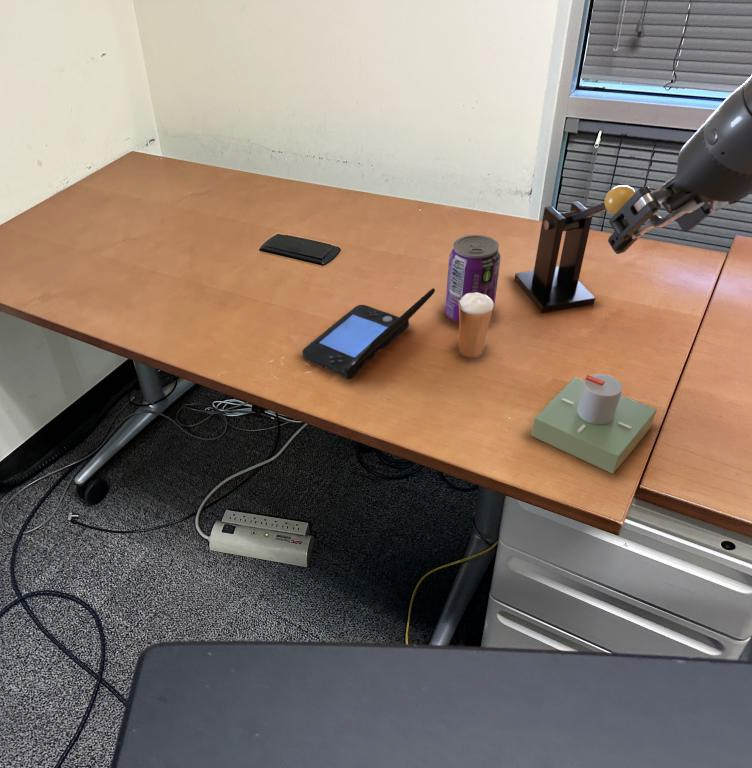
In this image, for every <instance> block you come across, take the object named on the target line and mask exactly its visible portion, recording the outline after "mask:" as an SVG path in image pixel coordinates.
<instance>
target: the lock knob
mask: <svg viewBox="0 0 752 768" xmlns="http://www.w3.org/2000/svg"><path fill="white" fill-rule="evenodd" d="M623 389H624V387H623V384H622V382H621V381H620V380H618V379H617V378H615V377H614V376H612V375H608V374H605V373H604V374H603V373H595V374H587V375H586V377H585V379H584V385H583V389H582V393H581V397H580V401H579V405H578V409H577V413H578V415H579V416H580V417H581V418H582V419H583V420H584V421H586V422H589V423H592V424H597V425H602V424H607V423H609V422H611V421H612V420H613V419H614V416H615V412H616V409H617V406H618V403H619V399H620V396H621V395H622V392H623Z"/></svg>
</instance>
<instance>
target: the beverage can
mask: <svg viewBox="0 0 752 768" xmlns="http://www.w3.org/2000/svg"><path fill="white" fill-rule="evenodd" d="M499 246H500V245H499V242H498V241H497V240H495V239H494V238H493V237H490V236H487V235H482V234H467V235H464V236H461V237H459V238H457V239H456V240H454V242H453V246H452V249H451V251H450V253H449V254H448V255H449V256H448V266H447V279H446V291H445V304H444V306H445V307H444V312H445V315H446V316H447V317H448V318H449V319H451V320H452V321H454V322H456V323H459V303H458V301H457V298H458V300H459V301H460V299H461V298H462V297H463V296H464V295H466V294H468V293H476V292H477V293H481V294H484V295H487V296H488V297H489V298H490V299H492V301H493V303H494V307H493V311H492V315H491V318H492V317H493V315H494V312H495V305H496V296H497V290H498V289H497V288H498V281H499V274H500V265H501V258H502V257H501V256H502V255H501V254H500V253H501V252H499Z"/></svg>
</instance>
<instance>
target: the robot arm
mask: <svg viewBox="0 0 752 768" xmlns="http://www.w3.org/2000/svg"><path fill="white" fill-rule="evenodd" d="M676 165H677V166H676V173H675V174H673V175H671V176H670V177H668V178H667V179H666V180H665V181H664V183H663V184H662V185H661V186H659V187H658V188H657V189H655V190H653V191H652V190H651V189H650V188H649V186H648V185H645V186H642V187H640V188H639V189H638V190H637V191H635V192H636V193H635V194H634V195H633V196H632V197H631V198H630V199H629V200H628V201H627V202H626V203H625V204H624V205H623V206H622V208H621V209H620V210H619V211H618V212H617V213H616V214H615V215H614V214H613V215H612V217H611V218H610V219H609V220H608V223H609V224H610V226H611V228H612V229H613V231H614V232H613V233H612V234H611V235H609V237H608V239H607V242H608V243H609V245H610V247H611V249H612V250H613V252H614V253H615V254H616V255H619V254H624V253H626V251H628V249H629V248H631V246H632V245H634V243H635V242H637V241H638V240H639V238H641V237H642V236H643V235H644V234H646V233H647V232H649V231H651V230H652V229H654V228H659V229H661V228H664V227H666V226H667V225H669V224H671V223H673V222H674V221H675V222H676V223H677V225H678V226H679V227H680V229H681V230H682V232H684V233H685V232H689V231H692V230H694V229H695V228H696V227H697V226H698V225H699V224H700V223H701V222H702V221H704V219H706V218H707V217H708V216H709V215H710V214H713V213H717V212H719V211H720V210H721V209H722V208H723V207H724V205H726V204H728V205H730V206H731V205H733V204H735V205H736V204H737V203H739V202H740V200H742V199H744V198H747V197H748V196H750V195H751V194H752V75H750V77H749V78H747V80H746V81H745V82H744V83H743V84H741V85H740V86H739V87H738V88H736V89H735V90H734V91H733V92H732V93H731V94H730V95H728V96H727V98H726V99H724V101H723V102H722V103H721V104H720V105H719V106H718V107H717V109H715V111H714V112H713V113H712V114H710V116H709V117H708V118H707V119H706V121H704V123H703V124H702V125H701V126H700V127H699V128H698V129H697V131H696V132H694V134H693V135H692V136H691V137H690V138H689V140H687V141H686V143H685V144H684V145H682V148H681V149H680V151H679V153H678V155H677V164H676ZM661 205H662V206H661ZM662 207H663V208H664V210H665V211H666V212H667V213H668V214H667V215H665V216H663V217H662V215H661V214H660V213H659V210H660V209H661V208H662Z"/></svg>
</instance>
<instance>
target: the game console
mask: <svg viewBox="0 0 752 768" xmlns="http://www.w3.org/2000/svg"><path fill="white" fill-rule="evenodd" d="M435 292H436V289H435V288H434V287H433V288H431V289H429V291H427V292H426V293H425V294H424V295H423V296H421V298H420V299H418V300H417V301H416V302H415V303H414V304H413V305H411V306H410V307H409V308H408V309H407V310H405V312H403V314H402V315H400V316H398V315H394V314H392V313H389V312H386V311H384V310H381V309H378V308H374V307H372V306H369V305H366V304H358V305H355V306H354V307H353V308H352V309H350V310H349V311H348V312H347V313H346V314H344V315H343V316H342V317H340V319H338V320H337V321H336V322H335V323H333V324H332V325H331V326H330V327H328V328H327V329H326V330H325V331H324V332H322V333H321V334H320V335H319V336H318V337H316V338H314V340H313V341H311V342H310V343H309V344H308V345H306V346H305V347H304V348H303V349H302V352H301V353H302V357H303V359H304V360H305V361H308V362H309V363H312V364H314V365H316V366H319V367H321V368H323V369H325V368H326V370H328V371H331V372H332V373H334V374H337V375H338V376H340V377H344V378H345V379H346V380H351V379H353V378H354V377H355V376H356V375H357V374H358V373H359V372H360V371H361V370H362V369H363V368H364V367H365V366H367V364H369V362H371V361H372V360H373V359H374V358H375V355H376V354H377V353H378V352H380V350H382V349H385V347H388V345H390V344H391V343H392V342H393V341H394V340H395V339H396V338H397V337H399V336H400V335H401V334H402V333H404V332H405V331H407V329H408V328H409V326H410V319H411V318H412V317H413V316H414V315H415V314H416V313H417V312H418V311H419V310H420V308H422V307H423V306H424V304H425V303H427V301H429V299H430V298H431V297H432V296H433V295H434V294H435Z"/></svg>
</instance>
